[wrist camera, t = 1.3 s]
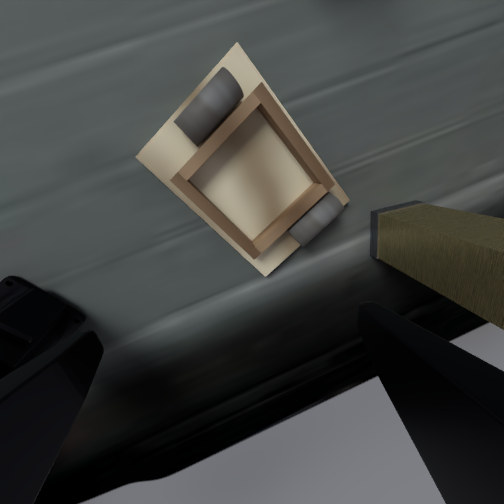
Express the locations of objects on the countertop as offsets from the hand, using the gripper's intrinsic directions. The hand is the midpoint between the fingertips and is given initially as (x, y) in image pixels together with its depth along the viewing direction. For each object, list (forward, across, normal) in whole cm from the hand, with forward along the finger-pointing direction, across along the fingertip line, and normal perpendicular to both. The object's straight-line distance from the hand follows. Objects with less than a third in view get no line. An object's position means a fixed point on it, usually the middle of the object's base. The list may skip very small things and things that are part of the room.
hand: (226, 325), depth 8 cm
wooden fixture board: (+13, -1, -3) cm, 14 cm away
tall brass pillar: (+15, -15, +4) cm, 21 cm away
